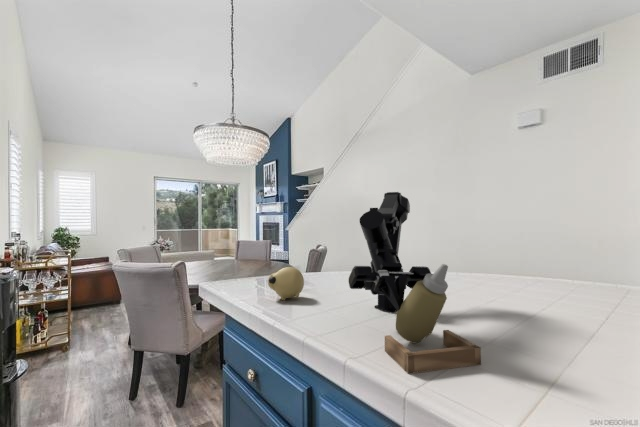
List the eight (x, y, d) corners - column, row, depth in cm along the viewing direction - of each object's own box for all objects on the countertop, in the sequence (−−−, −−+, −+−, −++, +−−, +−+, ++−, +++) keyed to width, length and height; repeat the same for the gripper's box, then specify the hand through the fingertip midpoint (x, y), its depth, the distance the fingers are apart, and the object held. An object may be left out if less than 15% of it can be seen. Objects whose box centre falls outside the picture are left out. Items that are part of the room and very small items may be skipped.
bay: (384, 350, 60) (384, 335, 60) (448, 344, 63) (448, 329, 63) (408, 373, 51) (407, 355, 51) (480, 364, 54) (480, 347, 54)
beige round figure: (272, 294, 106) (272, 264, 107) (305, 295, 105) (305, 264, 106) (264, 302, 97) (264, 268, 97) (301, 302, 96) (301, 269, 96)
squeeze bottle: (431, 351, 62) (473, 283, 56) (395, 343, 61) (433, 272, 55) (418, 323, 70) (454, 259, 63) (386, 315, 69) (419, 249, 62)
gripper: (404, 271, 83) (424, 326, 72) (338, 271, 79) (349, 329, 68) (420, 246, 75) (446, 303, 64) (349, 244, 71) (363, 304, 60)
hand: (400, 311), depth 64 cm, fingers closed, pressing on squeeze bottle
